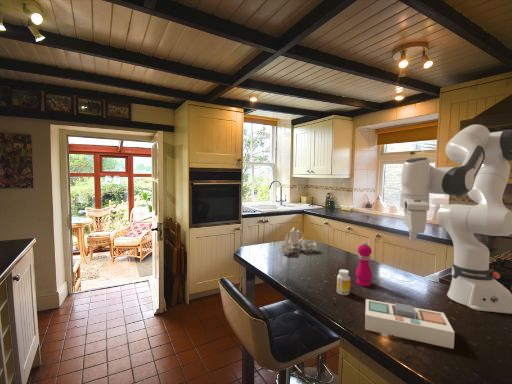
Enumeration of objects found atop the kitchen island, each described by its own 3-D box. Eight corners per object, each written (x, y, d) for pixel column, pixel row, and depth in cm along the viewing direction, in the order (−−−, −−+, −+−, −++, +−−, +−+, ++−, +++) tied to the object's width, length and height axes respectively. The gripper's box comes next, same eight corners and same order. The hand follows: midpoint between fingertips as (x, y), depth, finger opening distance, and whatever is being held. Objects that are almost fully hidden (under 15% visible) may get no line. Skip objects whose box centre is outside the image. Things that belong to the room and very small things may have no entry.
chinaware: (286, 260, 161) (288, 234, 159) (271, 251, 176) (273, 227, 173) (320, 254, 175) (322, 230, 173) (303, 245, 189) (306, 223, 187)
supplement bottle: (334, 292, 113) (335, 270, 113) (340, 288, 117) (340, 267, 117) (346, 296, 110) (347, 274, 109) (351, 292, 114) (352, 270, 113)
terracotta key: (440, 323, 86) (440, 315, 86) (444, 332, 81) (444, 323, 81) (421, 320, 88) (421, 311, 88) (424, 328, 83) (425, 319, 83)
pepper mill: (373, 287, 119) (375, 244, 118) (356, 286, 120) (358, 243, 119) (369, 281, 126) (371, 240, 125) (354, 279, 127) (355, 239, 126)
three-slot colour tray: (442, 327, 88) (443, 312, 87) (453, 348, 77) (454, 331, 76) (365, 312, 97) (365, 298, 97) (365, 329, 86) (365, 314, 86)
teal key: (385, 313, 92) (386, 305, 92) (386, 321, 87) (387, 312, 87) (369, 310, 94) (370, 302, 94) (369, 317, 89) (370, 309, 89)
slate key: (412, 314, 89) (412, 305, 89) (414, 322, 84) (415, 313, 84) (394, 311, 91) (395, 302, 91) (396, 318, 86) (396, 309, 86)
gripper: (401, 200, 105) (399, 234, 106) (408, 205, 86) (406, 246, 87) (419, 200, 103) (417, 235, 103) (430, 206, 84) (428, 248, 85)
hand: (412, 240), depth 95 cm, fingers closed
